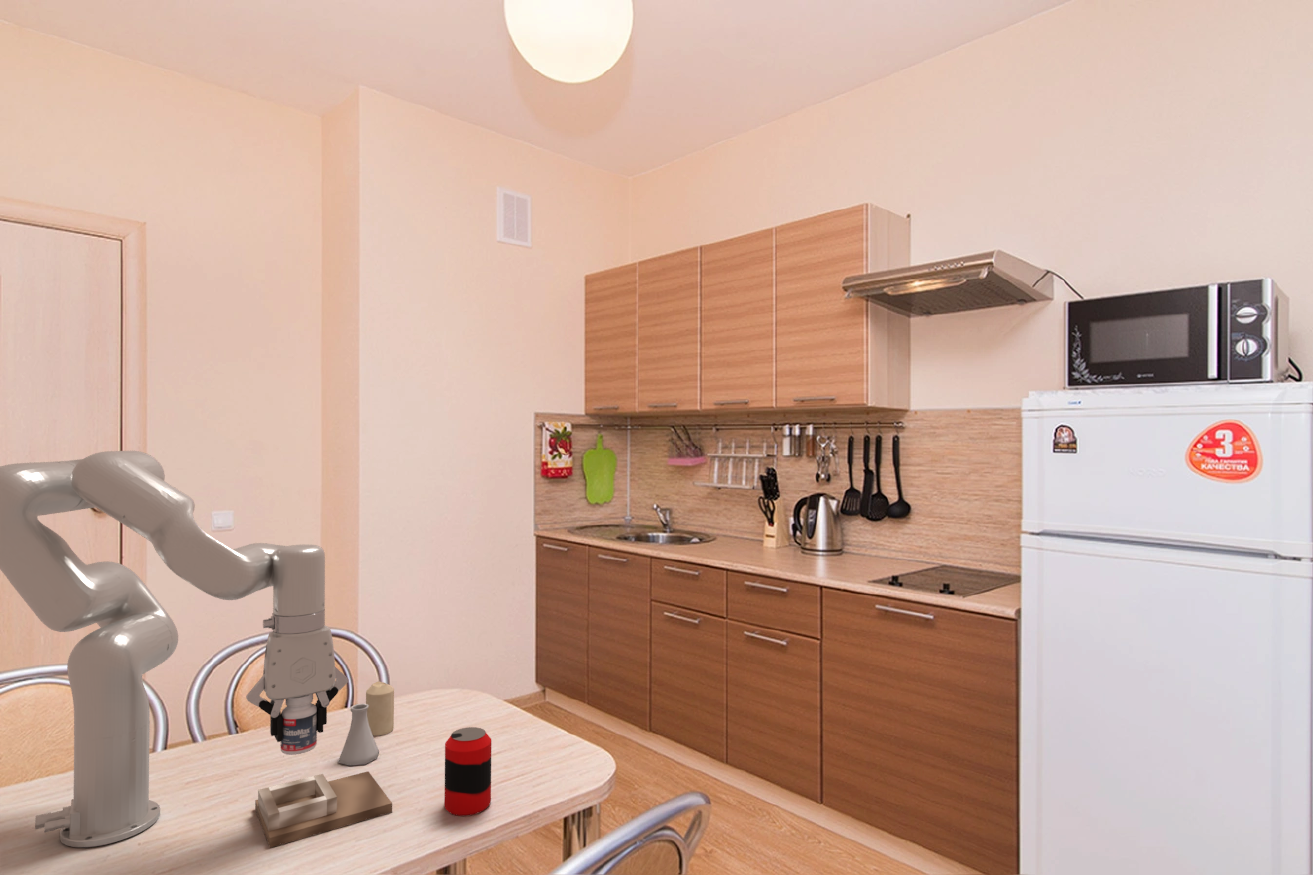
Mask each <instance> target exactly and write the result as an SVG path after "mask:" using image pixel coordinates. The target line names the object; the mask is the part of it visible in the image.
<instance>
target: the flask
mask: <svg viewBox="0 0 1313 875" xmlns="http://www.w3.org/2000/svg"><path fill="white" fill-rule="evenodd" d="M368 707H369V705H368V704H366V703H357V704H354V705H352V706H351V707H350V712H351V723H350V726H349V731H348V733H347V737H346V740H345V743H344V745H343V747H342V750H341V754H340V756H339V759H338V761H337V763H339V764H342V765H346V766H359V765H360V766H362V765H366V764H368V763H371V762H372V761H375V760H376V759H378V756H379V753H380V749H379V747H378V745H377V742H376V740H375V736H373V735H372V732H371V729H370V727H369V724H368V718H367V709H368Z"/></svg>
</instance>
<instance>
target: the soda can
mask: <svg viewBox="0 0 1313 875" xmlns="http://www.w3.org/2000/svg"><path fill="white" fill-rule="evenodd" d="M491 801H492V738H491V737H490V735H489V734H488V733H487V731H486V730H485V729H484V728H481V727H477V726H469V727H468V726H467V727H462V728H458V729H456V730H454V731H453V732H452V733H451V734H450V736H449V737H448V739H447V740H446V741H445V743H444V804H443V805H444V806H443V807H444V809H445V810H446V811H447V812H448V813H449V814H451V815H453V816H458V817H464V816H465V817H466V816H473V815H477V814H479V813H481V812H484V811H485V810H486V809H487V808H488V807H489V806H490V804H491Z"/></svg>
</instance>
